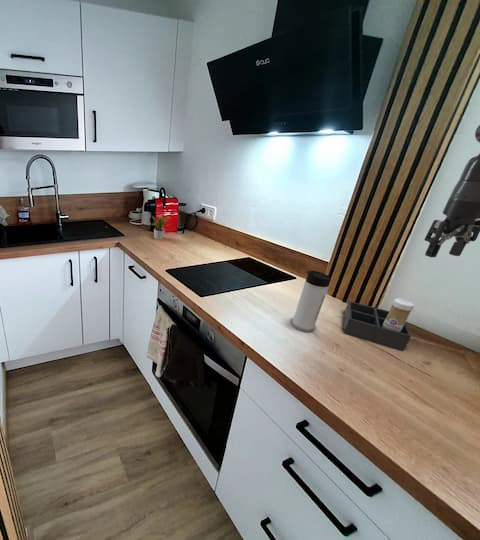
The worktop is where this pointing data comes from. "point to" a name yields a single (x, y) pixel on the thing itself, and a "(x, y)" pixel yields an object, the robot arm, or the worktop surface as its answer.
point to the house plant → (159, 227)
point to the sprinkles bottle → (398, 314)
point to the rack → (373, 326)
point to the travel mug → (311, 301)
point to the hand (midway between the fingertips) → (442, 255)
